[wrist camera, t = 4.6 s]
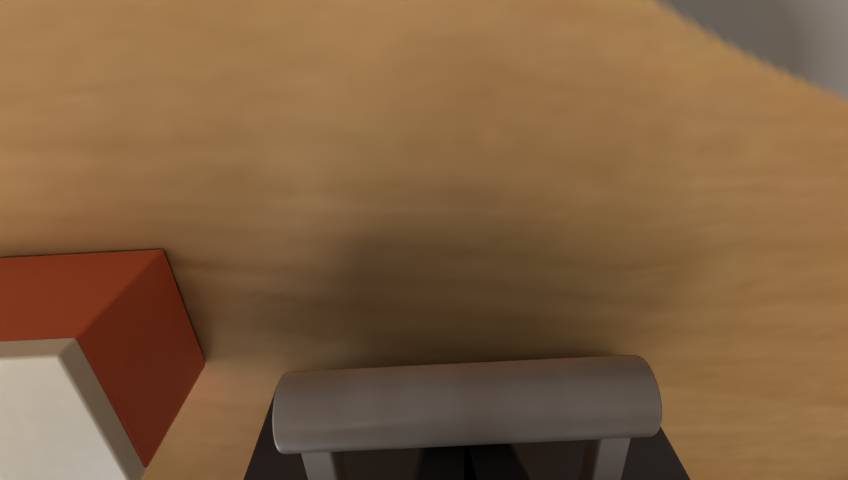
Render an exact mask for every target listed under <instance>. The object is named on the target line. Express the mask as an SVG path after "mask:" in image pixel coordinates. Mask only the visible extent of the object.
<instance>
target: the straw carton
mask: <svg viewBox="0 0 848 480" xmlns="http://www.w3.org/2000/svg"><path fill="white" fill-rule="evenodd" d="M204 366H205V361H204V358H203V356H202V353H201V350H200V347H199V345H198V342H197V339H196V337H195V334H194V331H193V329H192V326H191V323H190V321H189V318H188V315H187V312H186V310H185V307H184V304H183V302H182V299H181V296H180V294H179V291H178V288H177V286H176V283H175V280H174V277H173V275H172V272H171V269H170V267H169V264H168V261H167V259H166V256H165V253H164V251H163V250H162V249H158V250H139V251H120V252H102V253H83V254H64V255H46V256H27V257H8V258H0V480H141V478H142V476H143V475H144V473H145V468H147V467H148V465H149V464H150V462H151V460H152V458H153V456H154V455H155V453H156V451H157V449H158V448H159V446H160V444H161V442H162V441H163V439H164V437H165V435H166V434H167V432H168V430H169V428H170V426H171V425H172V423H173V421H174V419H175V418H176V416H177V414H178V412H179V411H180V409H181V407H182V405H183V404H184V402H185V400H186V398H187V396H188V395H189V393H190V391H191V389H192V388H193V386H194V384H195V382H196V381H197V379H198V377H199V375H200V374H201V372H202V370H203V368H204Z"/></svg>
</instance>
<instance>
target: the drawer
mask: <svg viewBox="0 0 848 480" xmlns="http://www.w3.org/2000/svg"><path fill="white" fill-rule="evenodd" d="M661 420H662V405H661V397H660V392H659V388H658V385H657V381H656V379H655V376H654V374H653V372H652V370H651V368H650V366H649V365H648V363H647V362H646V361H645V360H644V359H643V358H642V357H640V356H638V355H617V356H597V357H577V358H556V359H536V360H516V361H496V362H476V363H456V364H436V365H415V366H395V367H375V368H355V369H335V370H315V371H295V372H287V373H285V374H283V375H282V377H281V378H280V380H279V383H278V385H277V387H276V390H275V393H274V396H273V398H272V401H271V404H270V407H269V410H268V412H267V415H266V418H265V421H264V424H263V427H262V429H261V432H260V435H259V438H258V441H257V443H256V446H255V449H254V452H253V455H252V458H251V460H250V463H249V466H248V469H247V472H246V474H245V477H244V480H412V478H413V474H414V471H415V467H416V464H417V460H418V456H419V452H420V448H426V447H447V446H468V445H489V444H511V443H512V445H513V447H514V449H515V451H516V453H517V455H518V457H519V459H520V461H521V463H522V465H523V466H524V468H525V470H526V472H527V474H528V475H529V477H530V479H531V480H690V478H689V476H688V474H687V473H686V471H685V469H684V467H683V465H682V464H681V462H680V460H679V458H678V457H677V455H676V453H675V451H674V449H673V448H672V446H671V444H670V442H669V440H668V439H667V437H666V435H665V433H664V432H663V430H662V428H661V426H660V425H661Z"/></svg>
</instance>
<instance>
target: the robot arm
mask: <svg viewBox="0 0 848 480" xmlns="http://www.w3.org/2000/svg"><path fill="white" fill-rule="evenodd" d="M412 480H531V479H530V477H529V475H528V474H527V472H526V470H525V468H524V466H523V465H522V463H521V461H520V459H519V457H518V455H517V453H516V451H515V449H514V447H513V445H512V443H511V444H489V445H468V446H447V447H426V448H420V452H419V456H418V460H417V464H416V467H415V471H414V474H413V478H412Z"/></svg>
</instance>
